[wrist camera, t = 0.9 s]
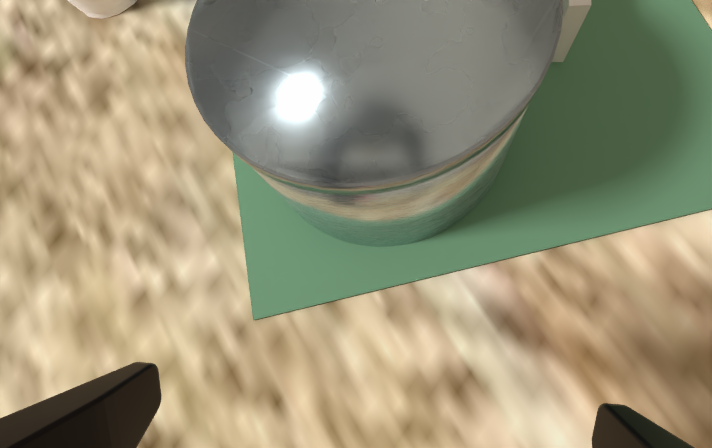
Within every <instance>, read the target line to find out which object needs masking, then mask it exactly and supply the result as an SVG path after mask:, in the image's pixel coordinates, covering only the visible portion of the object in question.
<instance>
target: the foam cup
mask: <svg viewBox="0 0 712 448" xmlns="http://www.w3.org/2000/svg"><path fill="white" fill-rule="evenodd" d="M68 1H69V2H70V3H71V4H73V5H74V6H75V7H77V8H78V9H79V10H81V11H83V12H84V13H85V14H86V15H88V16H89V17H93V18H101V19H104V18H107V17H111V16H115V15H118V14H120V13H122V12H123V11H125V10H126V9H127V8H129V7H130V6H132V5H133V4H134V3H135V2H136V1H137V0H68Z"/></svg>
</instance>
